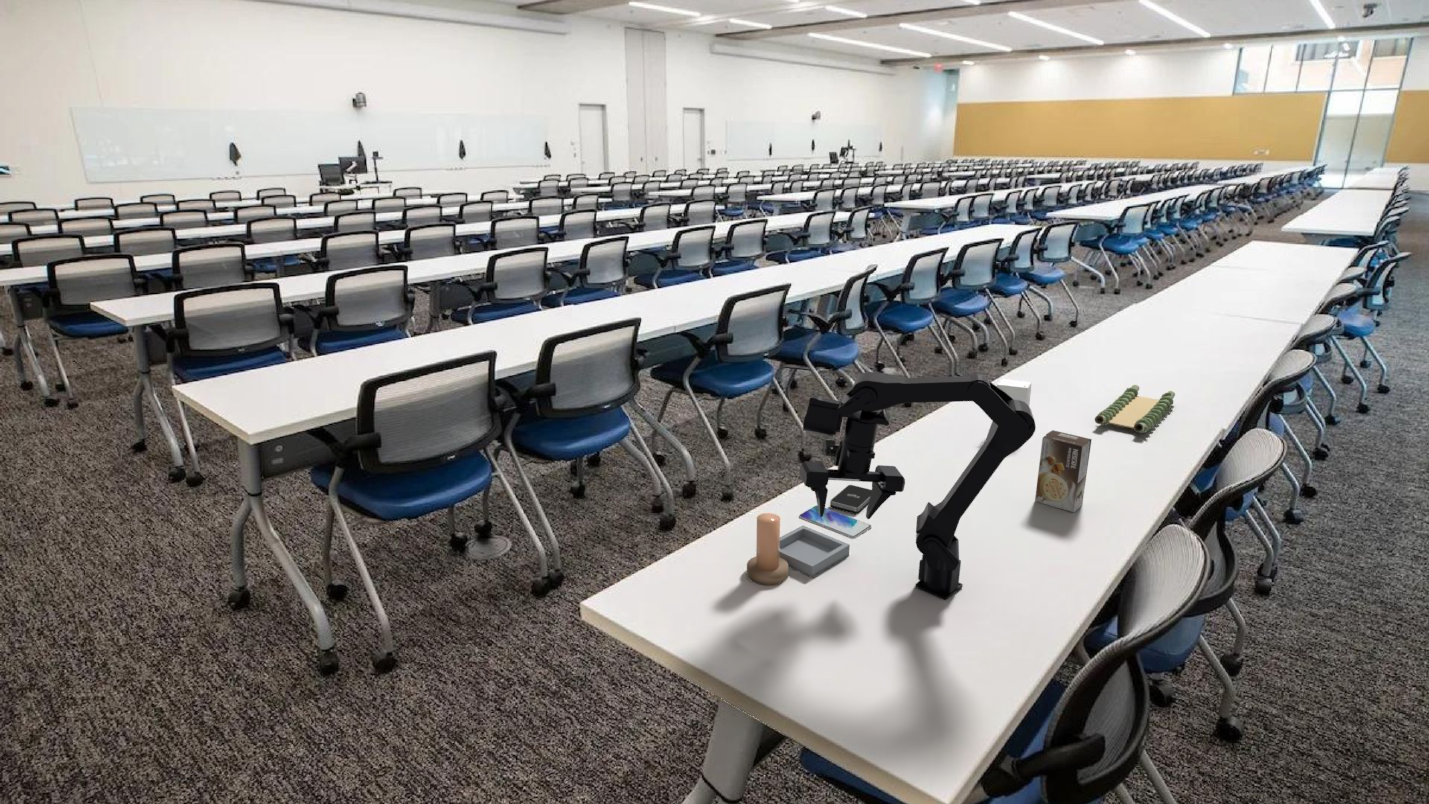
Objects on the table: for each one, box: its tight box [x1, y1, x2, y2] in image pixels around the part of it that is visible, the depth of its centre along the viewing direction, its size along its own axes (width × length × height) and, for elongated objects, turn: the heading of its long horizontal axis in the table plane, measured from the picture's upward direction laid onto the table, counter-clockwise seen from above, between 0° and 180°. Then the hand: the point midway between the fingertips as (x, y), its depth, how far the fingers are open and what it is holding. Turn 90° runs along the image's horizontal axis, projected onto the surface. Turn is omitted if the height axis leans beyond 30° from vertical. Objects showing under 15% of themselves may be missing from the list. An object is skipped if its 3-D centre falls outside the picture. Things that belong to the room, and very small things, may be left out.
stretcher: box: [1094, 384, 1176, 434], centre depth 238 cm, size 41×14×5 cm, turn 140°
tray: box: [779, 525, 851, 579], centre depth 159 cm, size 12×12×2 cm
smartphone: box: [798, 504, 872, 539], centre depth 174 cm, size 7×1×15 cm
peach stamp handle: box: [755, 512, 781, 571], centre depth 151 cm, size 4×4×10 cm
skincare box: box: [996, 378, 1032, 407], centre depth 222 cm, size 8×7×16 cm
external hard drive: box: [829, 484, 872, 515], centre depth 183 cm, size 7×11×2 cm, turn 147°
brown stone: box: [746, 556, 789, 586], centre depth 153 cm, size 8×8×2 cm
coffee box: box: [1034, 430, 1093, 513], centre depth 180 cm, size 9×6×16 cm
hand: (844, 517), depth 149 cm, fingers open, 9 cm apart
